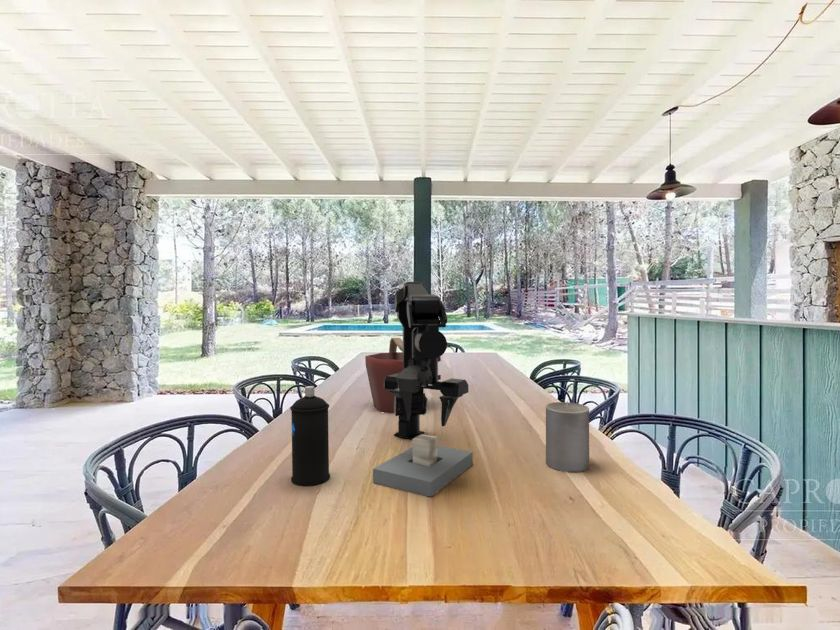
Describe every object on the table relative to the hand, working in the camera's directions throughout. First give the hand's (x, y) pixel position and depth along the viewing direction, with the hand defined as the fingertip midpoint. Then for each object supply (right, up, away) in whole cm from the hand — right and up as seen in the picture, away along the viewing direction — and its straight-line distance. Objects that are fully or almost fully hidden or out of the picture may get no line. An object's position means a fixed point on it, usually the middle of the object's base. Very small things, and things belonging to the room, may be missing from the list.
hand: (425, 423), depth 100 cm
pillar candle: (+33, -11, +5) cm, 35 cm away
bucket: (-9, -9, +61) cm, 62 cm away
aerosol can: (-25, -12, -2) cm, 28 cm away
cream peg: (0, -11, +1) cm, 11 cm away
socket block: (0, -11, +1) cm, 11 cm away
